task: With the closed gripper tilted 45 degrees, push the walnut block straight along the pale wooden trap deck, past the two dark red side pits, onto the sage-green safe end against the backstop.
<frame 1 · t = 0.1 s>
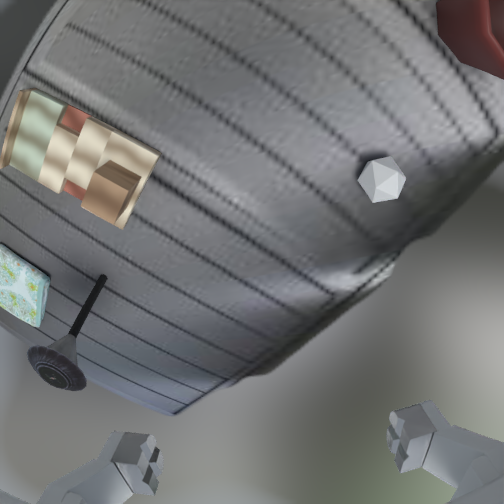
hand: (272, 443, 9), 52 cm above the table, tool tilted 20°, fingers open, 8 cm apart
towel: (23, 283, 70), on the table
walnut block: (118, 184, 55), point 2 cm above the table, touching trap deck
solar garden light: (104, 277, 68), on the table
bucket: (462, 27, 40), on the table
die: (374, 172, 58), on the table
trap deck: (76, 154, 53), on the table
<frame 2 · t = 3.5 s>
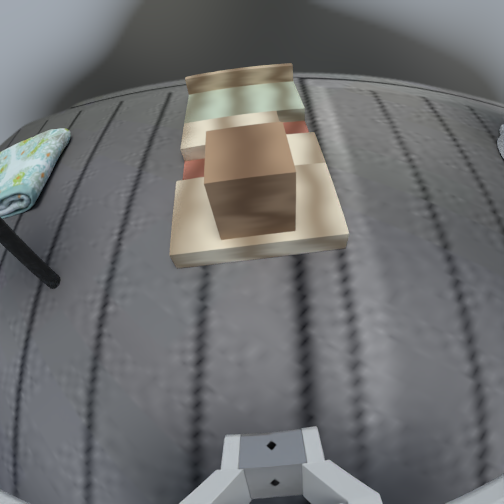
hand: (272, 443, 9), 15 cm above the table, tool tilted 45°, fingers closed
towel: (19, 184, 45), on the table
walnut block: (254, 207, 32), point 2 cm above the table, touching trap deck
solar garden light: (55, 282, 32), on the table
trap deck: (249, 153, 40), on the table
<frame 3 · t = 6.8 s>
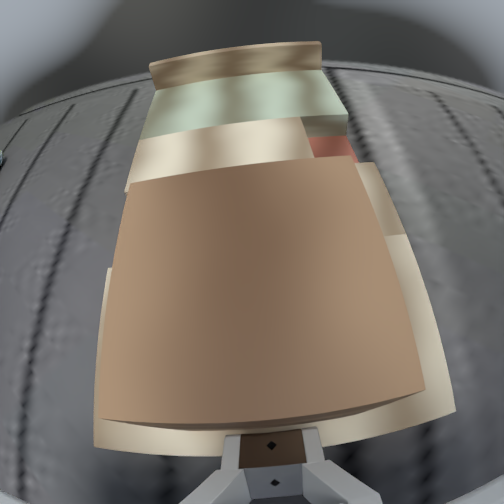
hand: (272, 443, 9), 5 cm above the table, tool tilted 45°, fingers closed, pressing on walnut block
walnut block: (264, 350, 14), point 3 cm above the table, touching gripper, trap deck
trap deck: (251, 198, 22), on the table
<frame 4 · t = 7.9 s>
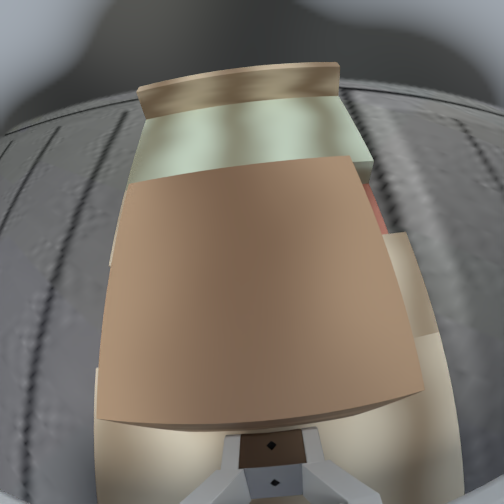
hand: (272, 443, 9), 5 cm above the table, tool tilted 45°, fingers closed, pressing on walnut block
walnut block: (263, 351, 14), point 3 cm above the table, touching gripper
trap deck: (259, 272, 19), on the table
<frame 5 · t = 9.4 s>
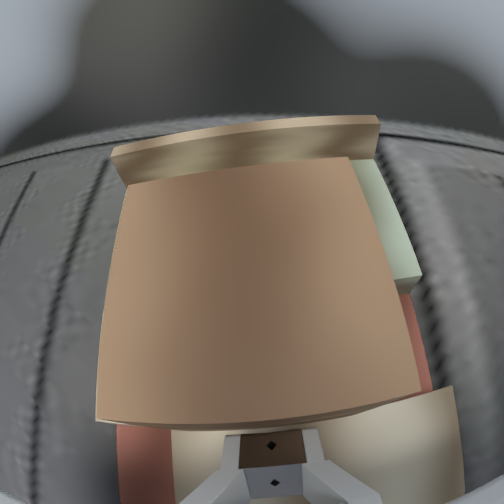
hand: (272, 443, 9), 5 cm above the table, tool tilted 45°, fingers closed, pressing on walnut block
walnut block: (262, 351, 14), point 2 cm above the table, touching gripper, trap deck
trap deck: (275, 424, 14), on the table
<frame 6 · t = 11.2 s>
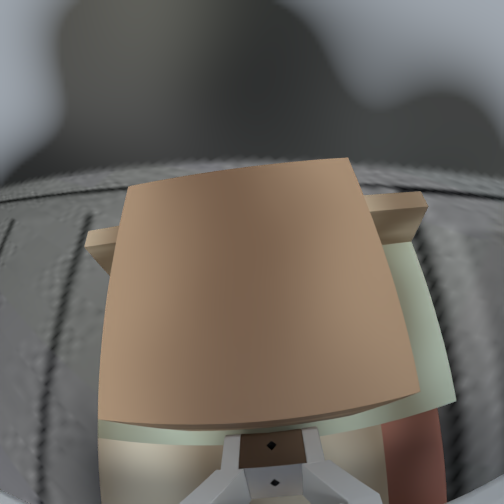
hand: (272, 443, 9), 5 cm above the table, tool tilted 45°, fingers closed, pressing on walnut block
walnut block: (263, 351, 14), point 3 cm above the table, touching gripper
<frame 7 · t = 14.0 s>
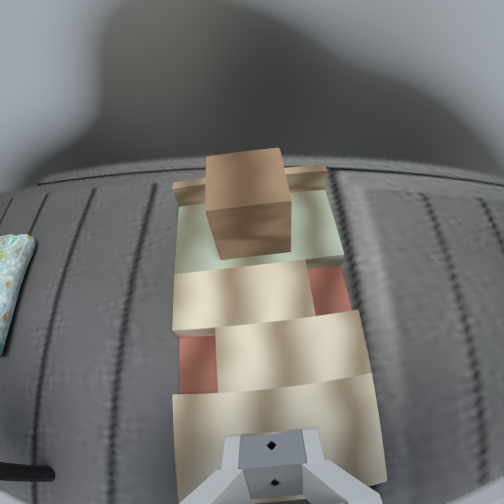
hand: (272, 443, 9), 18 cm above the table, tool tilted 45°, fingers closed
walnut block: (252, 228, 33), point 2 cm above the table, touching trap deck
solar garden light: (50, 473, 22), on the table
trap deck: (266, 331, 30), on the table
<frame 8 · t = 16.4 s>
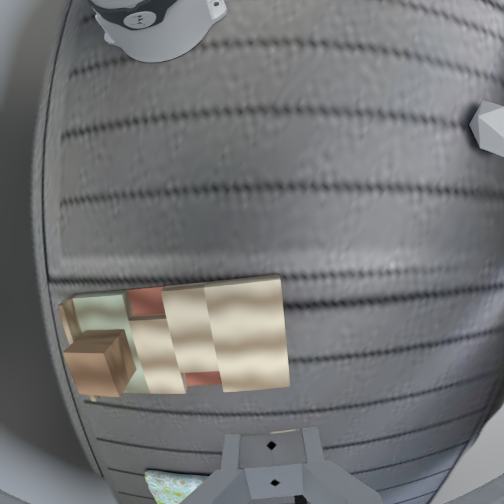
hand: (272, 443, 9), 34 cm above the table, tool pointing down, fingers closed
towel: (196, 494, 55), on the table
walnut block: (110, 350, 44), point 2 cm above the table, touching trap deck
die: (480, 131, 38), on the table
trap deck: (177, 339, 45), on the table
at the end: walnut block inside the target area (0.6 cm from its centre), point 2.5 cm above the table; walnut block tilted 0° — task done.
